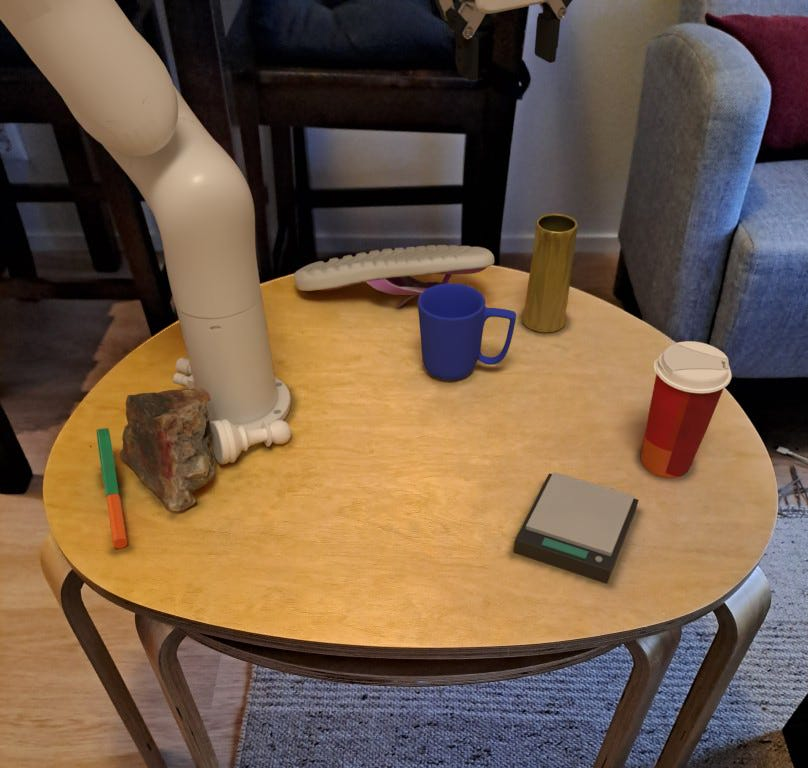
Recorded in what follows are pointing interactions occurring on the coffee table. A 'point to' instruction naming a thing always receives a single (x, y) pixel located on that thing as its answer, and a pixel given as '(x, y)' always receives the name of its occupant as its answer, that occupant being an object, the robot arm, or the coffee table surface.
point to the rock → (170, 443)
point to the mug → (456, 330)
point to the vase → (550, 273)
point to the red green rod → (111, 488)
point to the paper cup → (682, 405)
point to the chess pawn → (244, 438)
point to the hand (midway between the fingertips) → (506, 67)
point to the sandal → (394, 268)
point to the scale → (576, 526)
